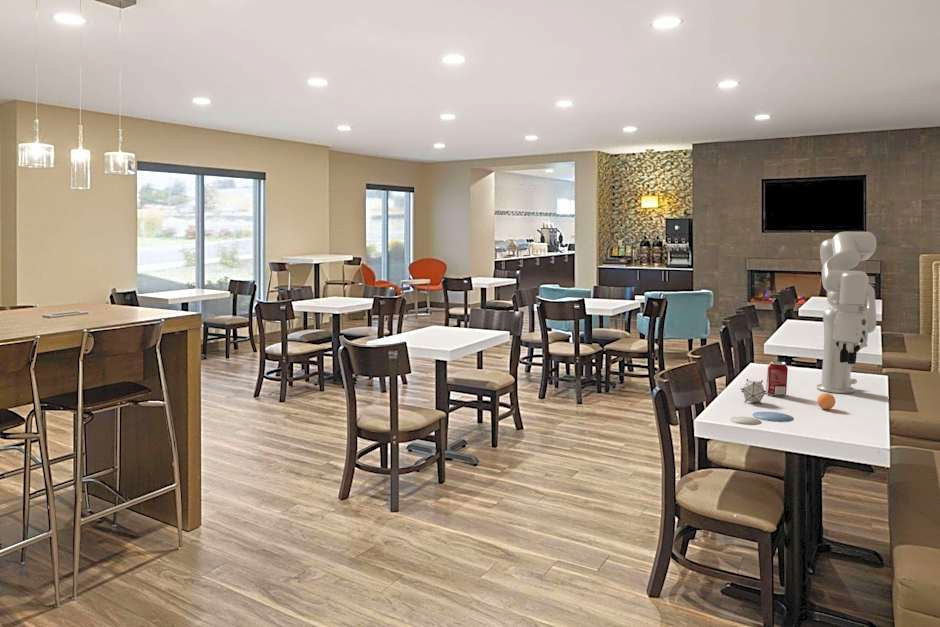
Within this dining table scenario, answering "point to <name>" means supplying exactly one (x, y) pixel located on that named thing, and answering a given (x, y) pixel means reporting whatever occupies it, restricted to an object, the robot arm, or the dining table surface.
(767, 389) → the soda can
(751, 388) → the game die
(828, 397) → the ball
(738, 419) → the far disc
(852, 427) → the dining table surface
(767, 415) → the disc
